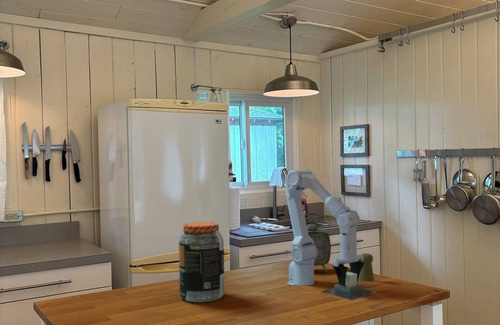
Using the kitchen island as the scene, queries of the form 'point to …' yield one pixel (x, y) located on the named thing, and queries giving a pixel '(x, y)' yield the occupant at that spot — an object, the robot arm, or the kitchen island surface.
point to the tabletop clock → (319, 242)
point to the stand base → (349, 291)
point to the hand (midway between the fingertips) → (348, 283)
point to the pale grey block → (351, 279)
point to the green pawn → (367, 268)
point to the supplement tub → (201, 262)
